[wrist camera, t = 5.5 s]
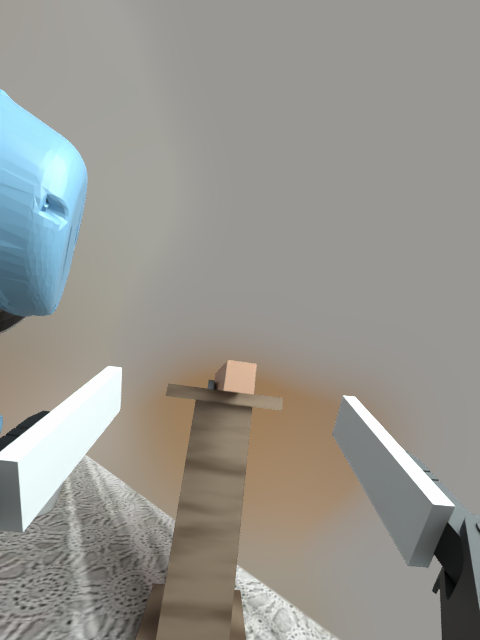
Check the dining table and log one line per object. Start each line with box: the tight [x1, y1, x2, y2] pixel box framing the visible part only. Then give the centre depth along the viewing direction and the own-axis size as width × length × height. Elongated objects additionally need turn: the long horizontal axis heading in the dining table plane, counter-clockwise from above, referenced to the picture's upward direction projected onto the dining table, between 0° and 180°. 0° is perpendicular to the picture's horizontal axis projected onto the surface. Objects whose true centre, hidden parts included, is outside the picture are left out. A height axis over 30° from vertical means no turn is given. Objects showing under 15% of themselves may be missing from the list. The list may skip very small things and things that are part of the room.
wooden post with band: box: [135, 380, 282, 640], centre depth 33 cm, size 13×16×31 cm
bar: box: [214, 360, 256, 394], centre depth 35 cm, size 24×3×3 cm, turn 9°
